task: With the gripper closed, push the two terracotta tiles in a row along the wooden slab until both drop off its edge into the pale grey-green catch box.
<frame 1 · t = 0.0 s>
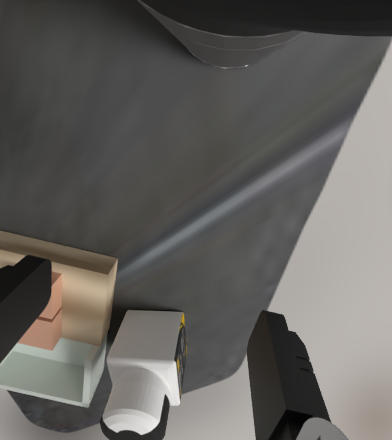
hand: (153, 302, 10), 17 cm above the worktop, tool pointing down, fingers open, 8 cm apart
tile 1: (41, 285, 30), point 3 cm above the worktop, touching wooden slab
tile 2: (42, 318, 32), point 3 cm above the worktop, touching wooden slab
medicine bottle: (158, 329, 36), on the worktop
catch box: (56, 338, 38), on the worktop
wooden slab: (56, 281, 33), on the worktop
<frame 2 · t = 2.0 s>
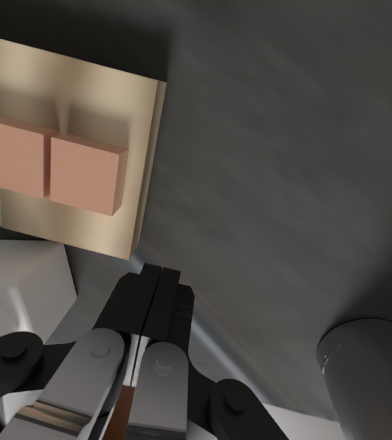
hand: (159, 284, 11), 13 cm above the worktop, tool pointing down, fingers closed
tile 1: (95, 171, 21), point 3 cm above the worktop, touching wooden slab
tile 2: (29, 154, 21), point 3 cm above the worktop, touching wooden slab
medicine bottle: (40, 268, 29), on the worktop
wooden slab: (87, 156, 23), on the worktop
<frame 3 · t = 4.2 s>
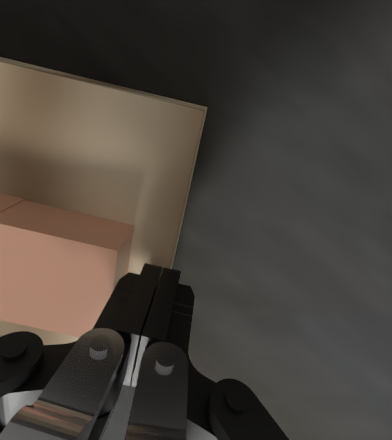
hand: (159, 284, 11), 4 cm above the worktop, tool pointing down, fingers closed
tile 1: (77, 258, 12), point 3 cm above the worktop, touching gripper, tile 2
wooden slab: (76, 221, 15), on the worktop
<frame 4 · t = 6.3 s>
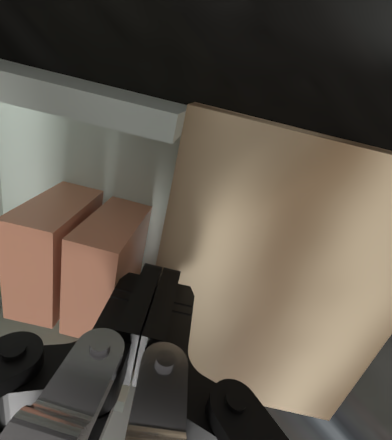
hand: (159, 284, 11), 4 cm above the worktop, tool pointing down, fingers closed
tile 1: (131, 269, 12), point 3 cm above the worktop, tilted 92°, touching catch box, gripper
tile 2: (80, 253, 12), point 3 cm above the worktop, tilted 90°, touching catch box
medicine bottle: (152, 393, 21), on the worktop
catch box: (83, 220, 15), on the worktop
wooden slab: (265, 263, 15), on the worktop
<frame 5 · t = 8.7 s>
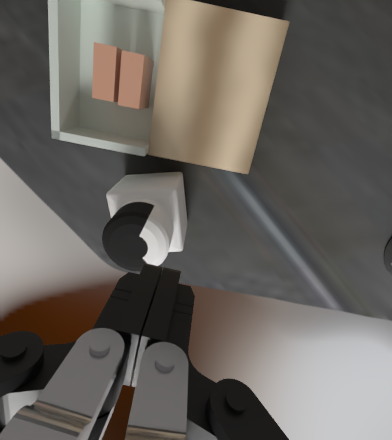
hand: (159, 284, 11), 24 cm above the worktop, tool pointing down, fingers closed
tile 1: (146, 84, 27), point 3 cm above the worktop, tilted 90°, touching catch box
tile 2: (122, 77, 27), point 3 cm above the worktop, tilted 90°, touching catch box
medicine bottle: (157, 199, 35), on the worktop
catch box: (119, 75, 30), on the worktop
wooden slab: (211, 94, 30), on the worktop
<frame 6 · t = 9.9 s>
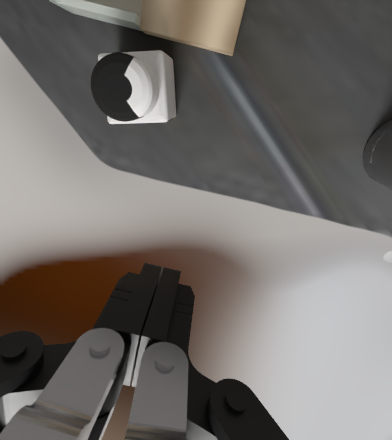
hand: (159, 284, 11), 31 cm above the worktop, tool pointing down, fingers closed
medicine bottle: (148, 90, 37), on the worktop
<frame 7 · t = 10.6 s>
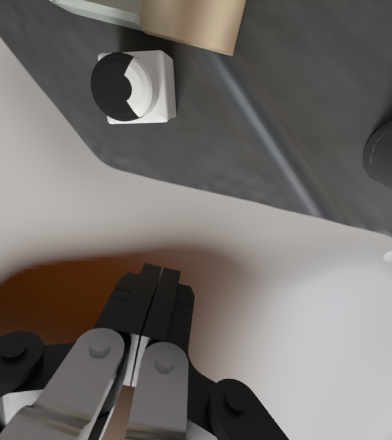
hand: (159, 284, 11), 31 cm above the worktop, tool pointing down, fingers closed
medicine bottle: (148, 90, 37), on the worktop
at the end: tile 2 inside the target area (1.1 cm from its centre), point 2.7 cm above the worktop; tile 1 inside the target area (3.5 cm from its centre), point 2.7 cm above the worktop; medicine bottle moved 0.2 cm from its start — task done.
